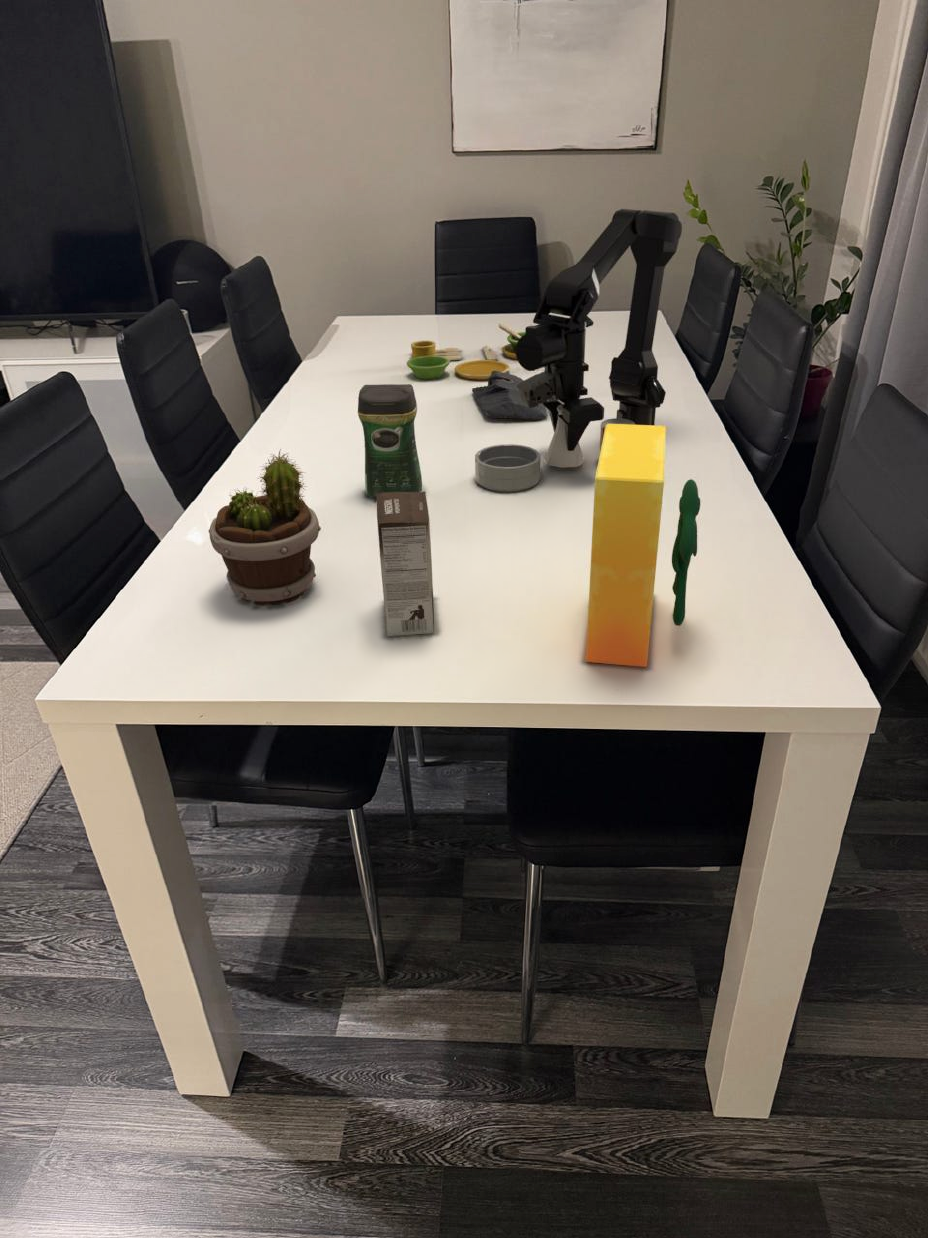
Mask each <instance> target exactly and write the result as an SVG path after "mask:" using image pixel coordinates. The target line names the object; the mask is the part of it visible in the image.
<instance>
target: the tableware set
mask: <svg viewBox="0 0 928 1238" xmlns="http://www.w3.org/2000/svg"><path fill="white" fill-rule="evenodd" d="M498 328H499V329H500V330H502V331H503V332H505V333H507V334H508V336H507V337H506V339H507V341H508V344H505V345H504V346H502V347H501V351H502V352H503V354H505V356H507V357H508V358H511V359H516V360H517V357H516V353H515V347H516V346H517V342H518V340H519V339H520V338H521V337H522V336H524V335H525V331H520V332H516V331H514V330H513V329H512V328H510V327H509V326H507V325H506V324H504V323H499V324H498ZM436 345H437V343H436V342H435V341H433V340H418V341H414V342H412V343H410V347H411V358H410V359H408V360H407V361H406V366H407V367H408V369H410V370H411V371H412V374H414V376H415V377H416V378H418V379H419V380H420V379H421V380H435V379H438V378H440V377H442V376H443V374H444V373H445V371H446V369H447V367H448V366H449V365H450V363H451V361H460V360H462V354H461V352H460V351H461V349H460V348H459V347H447V348H443V349H436ZM482 350H483V354H484V357H485V359H479V360H469V361H464V362H461V363H459V364H457V365H456V366H455V367H454V368H453V369H454V370H453V371H454V372H455V373H456V374H458V376H459V377H461V378H464V379H469V380H488V378H489V377H490V376H491V373H492V371H499V372H502V373H506V374H507V372H508V371H509V370H510V365H509V364H508V363H505V362H503V361H499V360H497V355H496V353H495V352H494V351H491V350H490V347H489V345H484V346H483V347H482Z"/></svg>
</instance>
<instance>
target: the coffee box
mask: <svg viewBox="0 0 928 1238" xmlns="http://www.w3.org/2000/svg"><path fill="white" fill-rule="evenodd" d="M375 500H376V520H377V536H378V546H379V548H378V549H379V560H380V573H381V583H382V595H383V605H384V606H383V607H384V616H385V626H386V627H385V628H386V635H387V637H394V636H396V637H397V636H410V635H411V636H412V635H429V634H434V633H435V632H436V631H435V630H436V629H435V607H434V603H435V602H434V584H433V561H432V543H431V542H432V541H431V524H430V521H431V520H430V513H429V506H428V499H427V493H426V491H425V490H424V491H420V492H390V493H379V494H377V495H376V499H375Z"/></svg>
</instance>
